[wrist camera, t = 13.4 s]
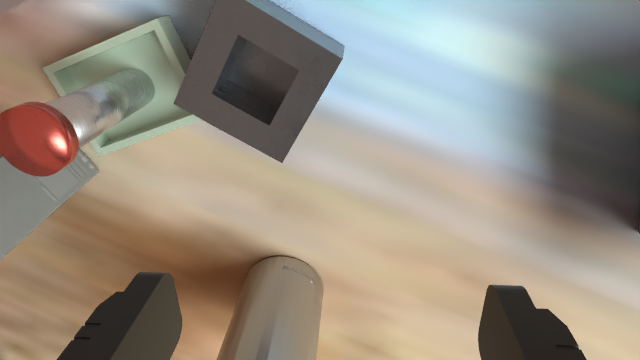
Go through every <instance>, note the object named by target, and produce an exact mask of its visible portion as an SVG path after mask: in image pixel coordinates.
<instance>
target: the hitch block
mask: <svg viewBox="0 0 640 360" xmlns="http://www.w3.org/2000/svg"><path fill="white" fill-rule="evenodd" d="M344 47H345V46H344V45H342V44H340V43H339V42H337V41H335V40H334V39H332V38H330V37H329V36H327V35H326V34H324V33H322V32H321V31H319V30H317V29H316V28H314V27H312V26H311V25H309V24H307V23H306V22H304V21H303V20H301V19H299V18H298V17H296V16H294V15H293V14H291V13H289V12H288V11H286V10H284V9H283V8H281V7H280V6H278V5H276V4H275V3H273V2H271V1H270V0H216V1H215V4H214V6H213V9H212V11H211V13H210V16H209V18H208V21H207V23H206V26H205V28H204V30H203V33H202V35H201V38H200V40H199V43H198V45H197V47H196V50H195V52H194V55H193V57H192V60H191V62H190V65H189V67H188V69H187V72H186V74H185V77H184V79H183V82H182V84H181V86H180V89H179V91H178V94H177V96H176V99H175V101H174V103H173V104H174V105H176V106H178V107H180V108H182V109H183V110H185V111H187V112H189V113H191V114H193V115H195V116H196V117H198V118H200V119H202V120H204V121H206V122H207V123H209V124H211V125H213V126H215V127H217V128H218V129H220V130H222V131H224V132H226V133H228V134H230V135H231V136H233V137H235V138H237V139H239V140H241V141H242V142H244V143H246V144H248V145H250V146H252V147H254V148H255V149H257V150H259V151H261V152H263V153H265V154H266V155H268V156H270V157H272V158H274V159H276V160H278V161H279V162H281V163H282V162H283V160H284V159H285V157H286V155H287V154H288V152H289V150H290V148H291V147H292V145H293V143H294V141H295V140H296V138H297V136H298V135H299V133H300V131H301V129H302V128H303V126H304V124H305V123H306V121H307V119H308V117H309V116H310V114H311V112H312V111H313V109H314V107H315V105H316V104H317V102H318V100H319V99H320V97H321V95H322V93H323V92H324V90H325V88H326V87H327V85H328V83H329V81H330V80H331V78H332V76H333V75H334V73H335V71H336V69H337V68H338V66H339V64H340V62H341V61H342V59H343V53H344Z"/></svg>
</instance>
